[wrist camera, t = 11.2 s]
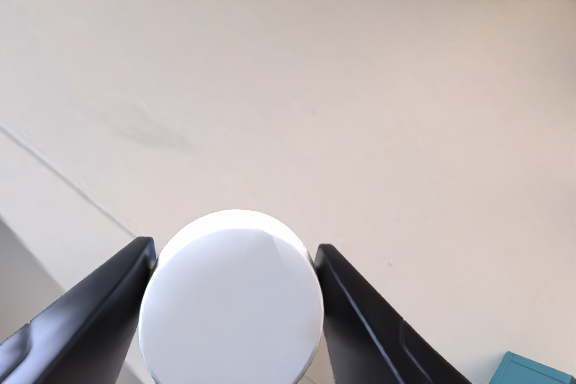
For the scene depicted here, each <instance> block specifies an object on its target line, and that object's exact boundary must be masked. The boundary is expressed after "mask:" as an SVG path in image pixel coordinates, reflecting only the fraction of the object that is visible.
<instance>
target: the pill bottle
mask: <svg viewBox="0 0 576 384" xmlns="http://www.w3.org/2000/svg"><path fill="white" fill-rule="evenodd" d="M323 317H324V307H323V298H322V292H321V289H320V285H319V282H318V277H317V273H316V269H315V266H314V263H313V261H312V258H311V256H310V254H309V252H308V251H307V249H306V248H305V246H304V245H303V243H302V242H301V241H300V239H299V238H298V237H297V236H296V235H295V234H294V233H293V232H292V231H291V230H290V229H289V228H288V227H286V226H285V225H284V224H282V223H281V222H279V221H278V220H276V219H274V218H272V217H270V216H267V215H265V214H262V213H258V212H254V211H247V210H228V211H222V212H217V213H213V214H210V215H207V216H205V217H202V218H200V219H198V220H196V221H194V222H193V223H191V224H189V225H188V226H187V227H185V228H184V229H182V230H181V231H180V232H179V233H178V234H177V235H175V236H174V237H173V238H172V239H171V240H170V242H169V243H168V244H167V245H166V247H165V248H164V249H163V251H162V252H161V254H160V255H159V257H158V258H157V260H156V262H155V264H154V266H153V268H152V271H151V273H150V276H149V280H148V283H147V287H146V291H145V294H144V297H143V301H142V305H141V309H140V316H139V338H140V346H141V351H142V355H143V358H144V361H145V363H146V366H147V368H148V371H149V373H150V374H151V376H152V378H153V379H154V381H155V382H156V384H297V383H298V381H299V380H300V379H301V378H302V377H303V375H304V373H305V372H306V370H307V369H308V367H309V366H310V364H311V362H312V360H313V358H314V355H315V353H316V351H317V348H318V345H319V342H320V338H321V333H322V328H323Z"/></svg>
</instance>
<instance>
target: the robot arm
mask: <svg viewBox="0 0 576 384" xmlns="http://www.w3.org/2000/svg"><path fill="white" fill-rule="evenodd" d="M155 261H156V253H155V246H154V240H153V238H152V237H137V238H136V239H134V240H133V241H132V242H131V243H129V244H128V245H127V246H126V247H124V248H123V249H122V250H120V251H119V252H118V253H117V254H115V255H114V256H113V257H111V258H110V259H109V260H108V261H106V262H105V263H104V264H102V265H101V266H100V267H99V268H97V269H96V270H95V271H93V272H92V273H91V274H90V275H88V276H87V277H86V278H84V279H83V280H82V281H81V282H79V283H78V284H77V285H76V286H74V287H73V288H72V289H70V290H69V291H68V292H67V293H65V294H64V295H63V296H61V297H60V298H59V299H58V300H56V301H55V302H54V303H52V304H51V305H50V306H49V307H47V308H46V309H45V310H43V311H42V312H41V313H40V314H38V315H37V316H36V317H35V318H33V319H32V320H31V321H30V324H25V325H24V326H23V327H22V328H20V329H19V330H18V331H16V332H15V333H14V334H13V335H11V336H10V337H9V338H7V339H6V340H5V341H4V342H2V343H1V344H0V384H116V381H117V378H118V375H119V373H120V370H121V368H122V365H123V362H124V360H125V357H126V354H127V352H128V349H129V347H130V344H131V341H132V339H133V336H134V333H135V331H136V328H137V325H138V323H139V316H140V309H141V305H142V301H143V297H144V294H145V291H146V287H147V283H148V280H149V276H150V273H151V271H152V268H153V266H154V264H155ZM314 266H315V269H316V273H317V277H318V282H319V285H320V289H321V292H322V298H323V307H324V317H323V329H324V334H325V338H326V343H327V347H328V352H329V356H330V360H331V365H332V369H333V374H334V378H335V383H336V384H472V383H471V382H470V381H469V380H468V379H466V378H465V377H464V376H463V375H462V374H461V373H460V372H459V371H457V370H456V369H455V368H454V367H453V366H452V365H451V364H450V363H449V362H447V361H446V360H445V359H444V358H443V357H442V356H441V355H440V354H439V353H438V352H437V351H435V350H434V349H433V348H432V347H431V346H430V345H429V344H428V343H427V342H426V341H425V340H424V339H423V338H422V337H421V336H420V335H419V334H418V333H417V332H416V331H415V330H414V329H413V328H412V327H411V326H410V325H409V324H408V323H407V322H406V321H405V320H404V321H403V318H402V317H401V316H400V315H399V314H398V313H397V312H396V310H395V309H394V308H393V307H392V306H391V305H390V304H389V303H388V302H387V301H386V300H385V299H384V298H383V297H382V296H381V295H380V294H379V293H378V292H377V291H376V290H375V289H374V288H373V287H372V286H371V285H370V283H369V282H368V281H367V280H366V279H365V278H364V277H363V276H362V275H361V274H360V273H359V272H358V271H357V270H356V269H355V268H354V267H353V266H352V265H351V264H350V263H349V262H348V261H347V260H346V259H345V258H344V256H343V255H342V254H341V253H340V252H339V251H338V250H337V249H336V248H335V247H334V246H333V245H331V244H320V245H319V247H318V250H317V254H316V257H315V262H314Z"/></svg>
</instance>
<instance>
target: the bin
mask: <svg viewBox="0 0 576 384" xmlns="http://www.w3.org/2000/svg"><path fill="white" fill-rule="evenodd" d="M490 384H576V379H575V378H574V377H573V376H571V375H569V374H566V373H564V372H561V371H558V370H556V369H553V368H551V367H548V366H545V365H543V364H540V363H538V362H535V361H532V360H530V359H527V358H524V357H522V356H519V355H517V354H514V353H512V352H509V351H508V352H507V353H506V355H505V357H504V359H503V360H502V362H501V364H500V366H499V368H498V369H497V371H496V373H495V375H494V376H493V378H492V380H491V382H490Z"/></svg>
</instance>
